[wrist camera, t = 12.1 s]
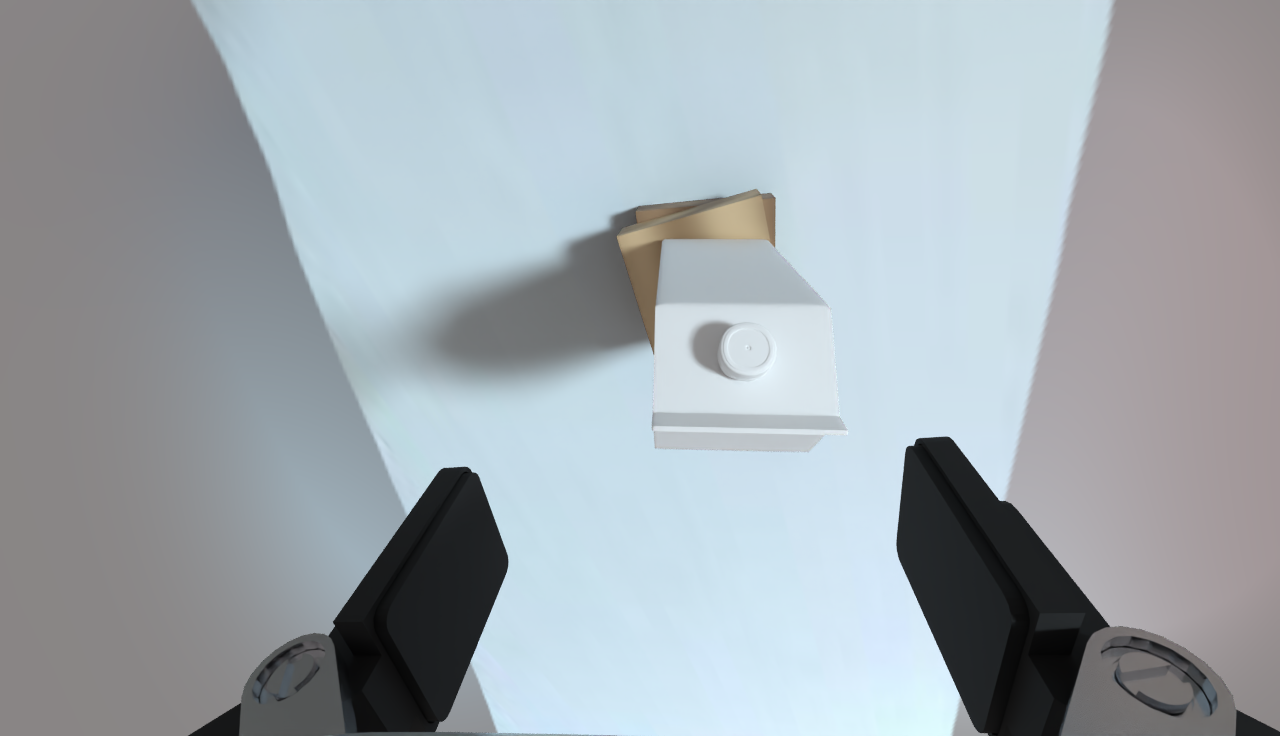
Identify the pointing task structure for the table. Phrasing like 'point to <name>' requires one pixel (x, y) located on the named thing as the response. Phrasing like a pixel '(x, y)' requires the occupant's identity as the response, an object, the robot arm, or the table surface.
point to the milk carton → (740, 351)
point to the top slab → (705, 221)
